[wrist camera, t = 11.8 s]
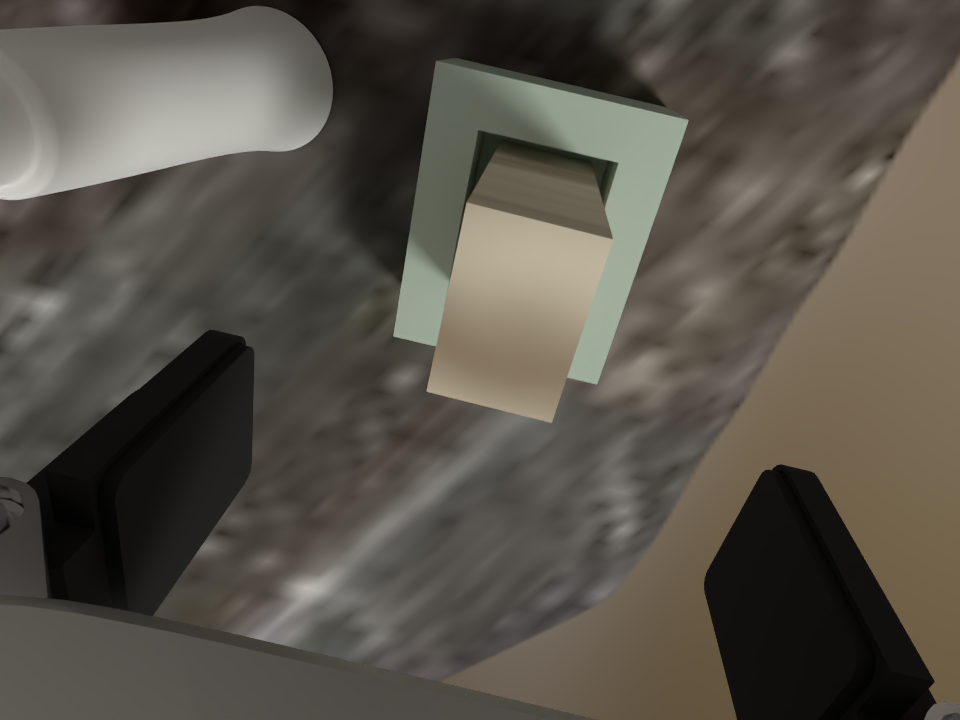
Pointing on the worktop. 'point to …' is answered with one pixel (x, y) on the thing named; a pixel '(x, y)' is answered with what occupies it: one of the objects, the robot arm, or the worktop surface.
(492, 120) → the end cap
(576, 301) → the beige rectangular block
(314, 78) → the cosmetic bottle
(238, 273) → the worktop surface
